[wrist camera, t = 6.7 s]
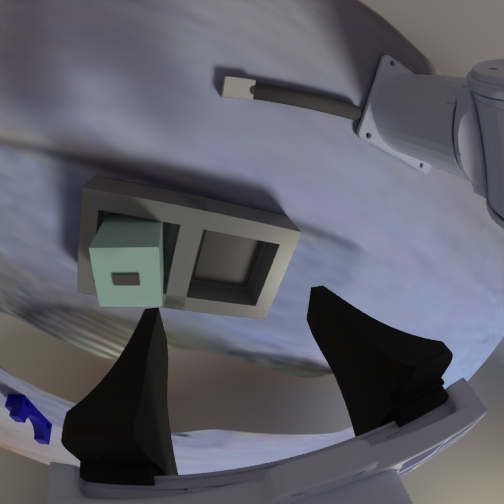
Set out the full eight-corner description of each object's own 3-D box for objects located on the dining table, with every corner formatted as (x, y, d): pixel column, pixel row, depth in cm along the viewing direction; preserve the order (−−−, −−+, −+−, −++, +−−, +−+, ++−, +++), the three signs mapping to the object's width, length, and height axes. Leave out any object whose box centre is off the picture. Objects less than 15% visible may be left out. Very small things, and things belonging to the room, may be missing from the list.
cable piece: (357, 105, 20) (365, 106, 19) (354, 121, 21) (362, 123, 20) (223, 77, 17) (225, 76, 16) (220, 96, 18) (223, 96, 17)
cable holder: (8, 392, 26) (2, 414, 23) (24, 394, 27) (19, 416, 23) (36, 422, 30) (32, 442, 27) (52, 423, 31) (49, 444, 27)
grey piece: (287, 216, 23) (301, 232, 21) (256, 297, 26) (264, 319, 24) (95, 176, 18) (82, 187, 16) (86, 271, 21) (78, 292, 19)
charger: (162, 213, 19) (158, 248, 15) (164, 264, 21) (162, 307, 17) (107, 214, 18) (88, 249, 14) (112, 264, 20) (99, 307, 16)
